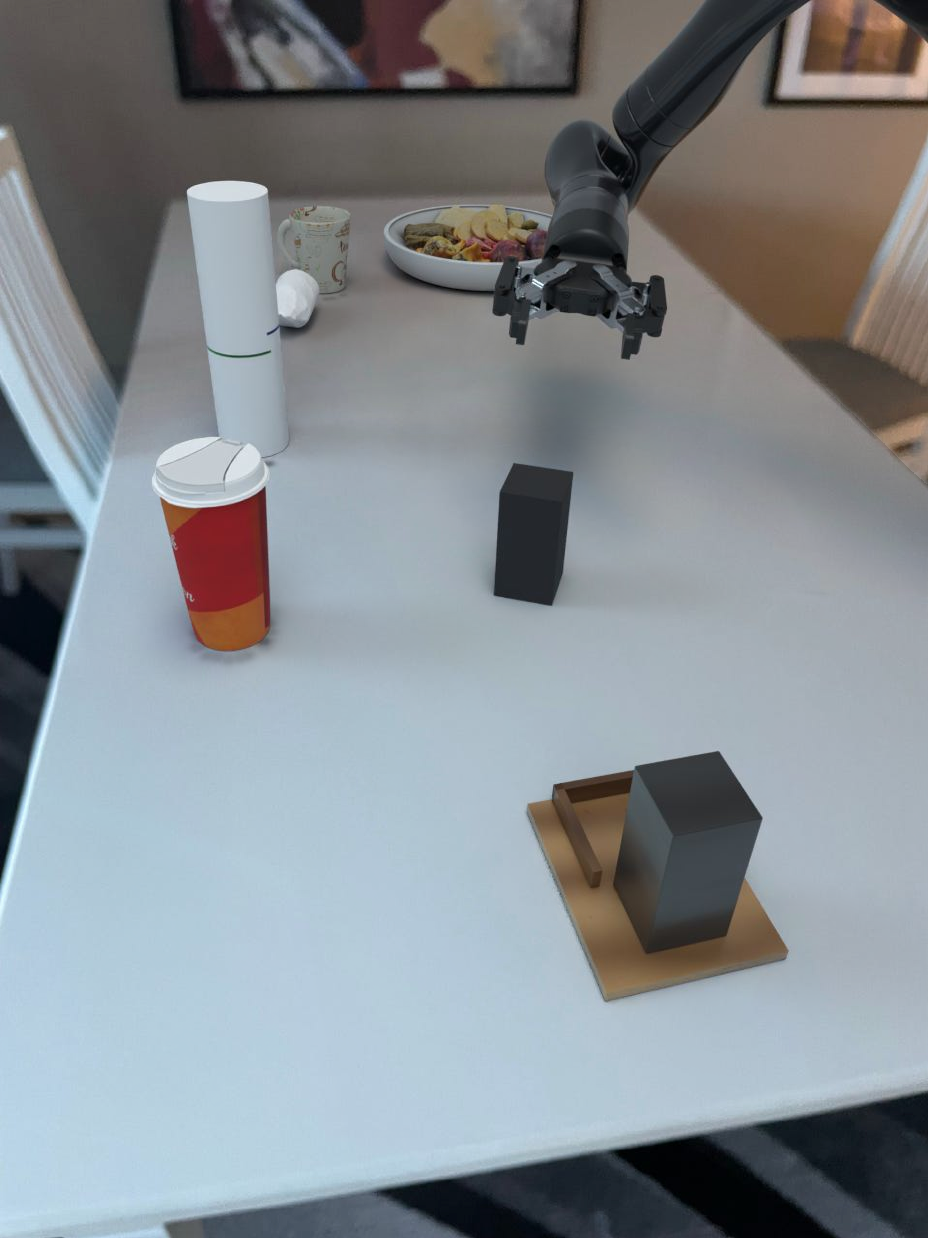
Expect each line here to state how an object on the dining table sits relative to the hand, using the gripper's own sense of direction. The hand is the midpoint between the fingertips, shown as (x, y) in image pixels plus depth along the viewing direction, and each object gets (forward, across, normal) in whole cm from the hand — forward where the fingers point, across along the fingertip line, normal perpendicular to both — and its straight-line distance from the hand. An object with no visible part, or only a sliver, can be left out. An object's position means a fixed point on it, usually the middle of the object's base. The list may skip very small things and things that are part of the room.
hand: (574, 342), depth 79 cm
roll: (-43, -36, +29) cm, 63 cm away
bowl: (-72, -14, +33) cm, 81 cm away
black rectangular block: (+10, -1, +18) cm, 20 cm away
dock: (+40, +9, +12) cm, 42 cm away
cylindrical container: (-10, -31, +23) cm, 40 cm away
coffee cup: (+20, -24, +18) cm, 36 cm away
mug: (-59, -38, +32) cm, 77 cm away
